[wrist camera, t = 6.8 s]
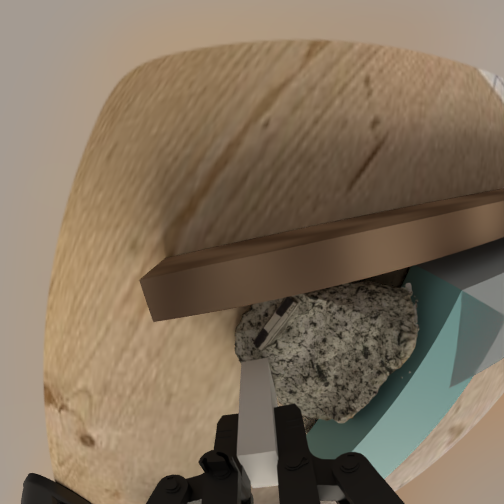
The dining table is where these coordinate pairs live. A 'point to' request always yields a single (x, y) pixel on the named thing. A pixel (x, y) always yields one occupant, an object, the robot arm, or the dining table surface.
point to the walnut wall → (320, 256)
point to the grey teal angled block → (429, 359)
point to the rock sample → (331, 344)
